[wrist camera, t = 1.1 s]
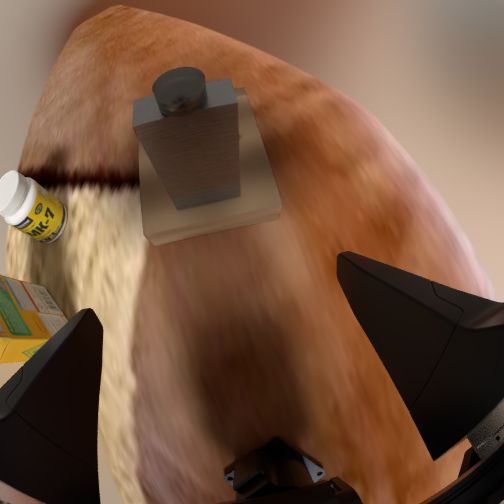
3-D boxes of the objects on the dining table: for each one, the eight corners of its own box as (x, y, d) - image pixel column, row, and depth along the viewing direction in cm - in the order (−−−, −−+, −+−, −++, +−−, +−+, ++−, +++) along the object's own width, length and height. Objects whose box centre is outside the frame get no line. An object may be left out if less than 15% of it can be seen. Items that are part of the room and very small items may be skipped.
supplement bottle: (47, 253, 23) (-7, 227, 15) (33, 225, 23) (-15, 195, 15) (75, 220, 24) (26, 184, 16) (59, 194, 24) (15, 156, 16)
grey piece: (241, 198, 21) (238, 86, 10) (177, 212, 21) (124, 113, 10) (234, 172, 22) (228, 58, 11) (174, 186, 21) (127, 82, 10)
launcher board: (278, 219, 24) (282, 204, 21) (155, 246, 23) (143, 235, 20) (244, 106, 27) (244, 87, 25) (146, 127, 27) (139, 110, 24)
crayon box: (31, 306, 21) (-51, 287, 10) (44, 285, 22) (-39, 257, 11) (68, 359, 20) (-21, 366, 9) (83, 338, 21) (-9, 335, 10)
